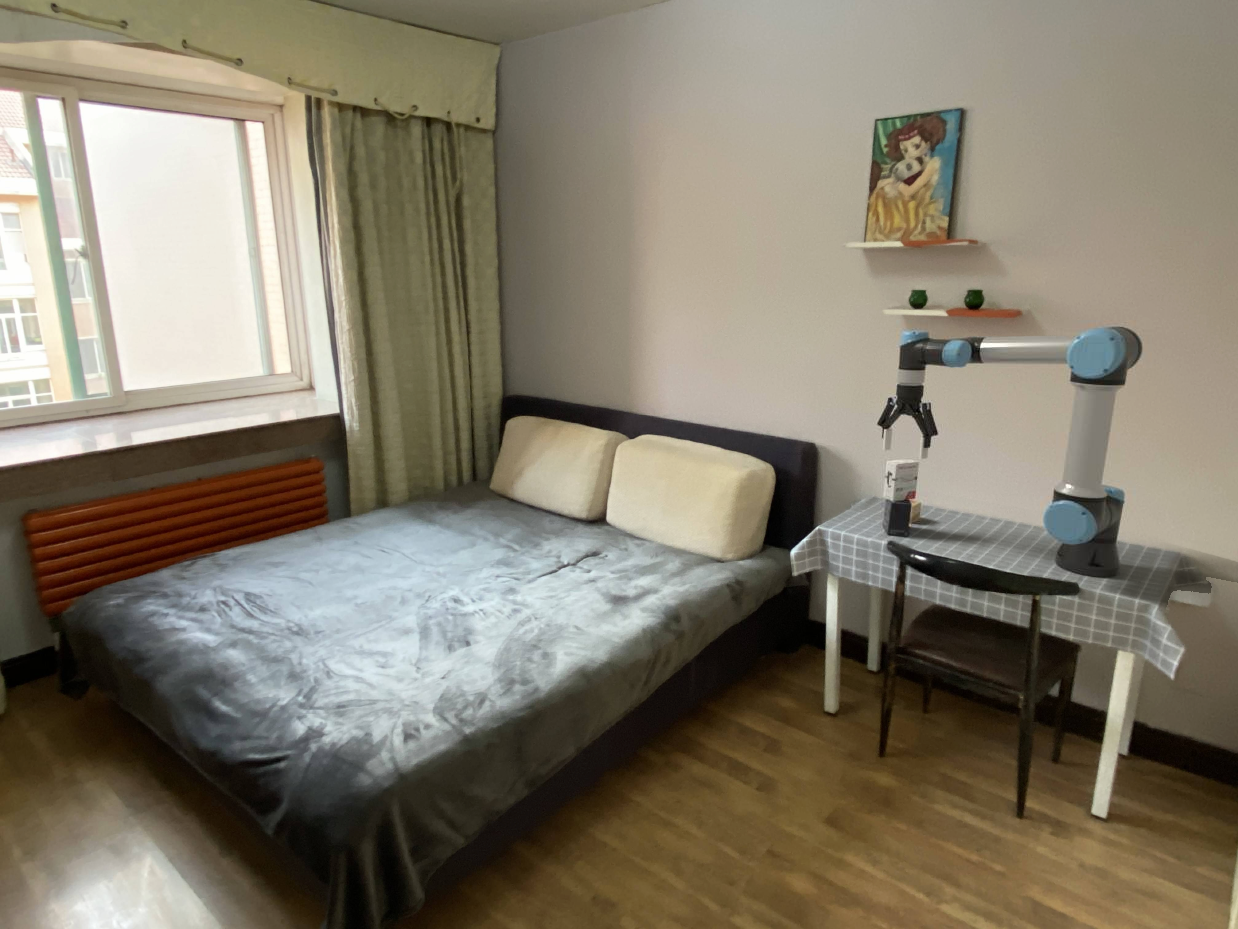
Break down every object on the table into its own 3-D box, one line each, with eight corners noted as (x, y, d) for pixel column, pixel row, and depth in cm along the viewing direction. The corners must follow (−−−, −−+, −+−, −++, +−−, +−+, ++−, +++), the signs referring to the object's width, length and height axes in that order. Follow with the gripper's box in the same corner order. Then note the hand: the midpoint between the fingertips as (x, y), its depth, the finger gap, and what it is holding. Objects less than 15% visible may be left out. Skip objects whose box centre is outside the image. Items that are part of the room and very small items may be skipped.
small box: (909, 537, 231) (912, 503, 228) (886, 535, 232) (890, 502, 229) (903, 526, 241) (906, 494, 238) (881, 524, 242) (884, 492, 239)
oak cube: (919, 519, 247) (921, 502, 246) (911, 524, 243) (912, 506, 241) (901, 515, 251) (903, 498, 250) (893, 519, 247) (894, 502, 246)
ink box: (904, 494, 237) (908, 458, 234) (915, 499, 233) (919, 461, 230) (882, 497, 234) (885, 460, 231) (892, 501, 230) (896, 463, 227)
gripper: (955, 387, 216) (948, 460, 221) (885, 378, 237) (880, 445, 242) (937, 389, 213) (930, 463, 218) (868, 379, 234) (863, 447, 239)
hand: (904, 454), depth 230 cm, fingers open, 13 cm apart
